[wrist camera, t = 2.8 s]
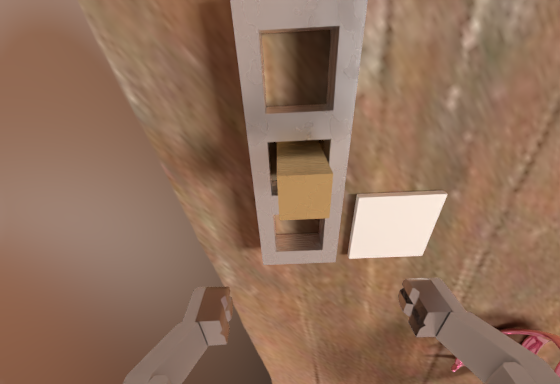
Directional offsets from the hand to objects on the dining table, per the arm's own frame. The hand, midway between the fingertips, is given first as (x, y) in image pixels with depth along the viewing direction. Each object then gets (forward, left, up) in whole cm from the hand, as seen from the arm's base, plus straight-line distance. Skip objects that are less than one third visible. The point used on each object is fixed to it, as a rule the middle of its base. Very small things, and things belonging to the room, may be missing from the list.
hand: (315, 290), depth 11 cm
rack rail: (0, 0, -16) cm, 16 cm away
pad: (+10, +12, -16) cm, 22 cm away
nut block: (0, 0, -16) cm, 16 cm away
